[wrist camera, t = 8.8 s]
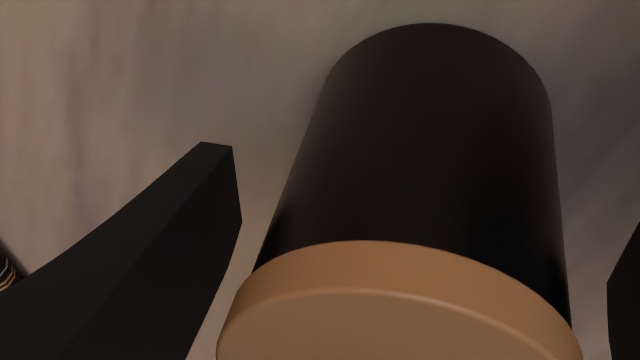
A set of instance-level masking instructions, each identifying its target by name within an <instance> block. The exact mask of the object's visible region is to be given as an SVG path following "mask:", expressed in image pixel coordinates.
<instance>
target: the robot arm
mask: <svg viewBox="0 0 640 360" xmlns="http://www.w3.org/2000/svg"><path fill="white" fill-rule="evenodd" d="M241 225H242V216H241V209H240V201H239V194H238V187H237V179H236V172H235V165H234V157H233V150H232V146H228V145H221V144H214V143H207V142H200V143H199V144H197V145H196V146H195V147H194V148H193V149H191V150H190V151H189V152H188V153H187V154H185V155H184V156H183V157H182V158H181V159H179V160H178V161H177V162H176V163H175V164H174V165H173V166H171V167H170V168H169V169H168V170H167V171H166V172H164V173H163V174H162V175H161V176H160V177H159V178H157V179H156V180H155V181H154V182H153V183H152V184H150V185H149V186H148V187H147V188H146V189H145V190H143V191H142V192H141V193H140V194H138V195H137V196H136V197H135V198H134V199H132V200H131V201H130V202H129V203H127V204H126V205H125V206H124V207H123V208H121V209H120V210H119V211H118V212H117V213H115V214H114V215H113V216H112V217H110V218H109V219H108V220H106V221H105V222H104V223H102V224H101V225H100V226H98V227H97V228H96V229H94V230H93V231H92V232H90V233H89V234H88V235H86V236H85V237H84V238H82V239H81V240H80V241H78V242H77V243H76V244H74V245H73V246H72V247H70V248H69V249H68V250H66V251H65V252H63V253H62V254H60V255H59V256H57V257H56V258H55V259H53V260H52V261H50V262H49V263H47V264H46V265H44V266H43V267H41V268H39V269H38V270H36V271H35V272H33V273H32V274H30V275H28V276H27V277H25V278H24V279H22V280H20V281H19V282H17V283H16V284H14V285H12V286H11V287H9V288H7V289H6V290H4V291H2V292H1V293H0V360H185V359H186V357H187V355H188V353H189V351H190V349H191V346H192V344H193V342H194V340H195V338H196V336H197V334H198V331H199V329H200V327H201V325H202V323H203V321H204V319H205V317H206V314H207V312H208V310H209V308H210V306H211V304H212V302H213V299H214V297H215V295H216V293H217V291H218V289H219V286H220V284H221V282H222V280H223V278H224V275H225V273H226V271H227V269H228V266H229V263H230V260H231V257H232V254H233V251H234V247H235V244H236V241H237V238H238V234H239V231H240V228H241ZM607 314H608V335H609V343H610V349H611V355H612V360H640V221H639V223H638V225H637V227H636V229H635V231H634V233H633V234H632V236H631V238H630V240H629V242H628V244H627V246H626V248H625V249H624V251H623V253H622V255H621V257H620V259H619V261H618V263H617V264H616V266H615V268H614V270H613V272H612V274H611V276H610V278H609V279H608V281H607Z"/></svg>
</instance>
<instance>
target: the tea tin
mask: <svg viewBox="0 0 640 360" xmlns="http://www.w3.org/2000/svg"><path fill="white" fill-rule="evenodd" d="M216 360H583V354H582V351H581V349H580V346H579V343H578V340H577V338H576V337H575V335H574V333H573V332H572V324H571V313H570V303H569V292H568V282H567V271H566V261H565V250H564V240H563V229H562V219H561V208H560V198H559V187H558V177H557V166H556V156H555V145H554V135H553V124H552V114H551V105H550V102H549V98H548V95H547V92H546V90H545V88H544V86H543V83H542V81H541V80H540V78H539V77H538V75H537V74H536V72H535V71H534V69H533V68H532V67H531V66H530V65H529V64H528V63H527V62H526V61H525V60H524V58H523V57H521V56H520V55H519V54H518V53H516V52H515V51H514V50H513V49H511V48H510V47H509V46H507V45H505V44H504V43H502V42H500V41H499V40H497V39H495V38H493V37H491V36H489V35H486V34H484V33H482V32H479V31H476V30H473V29H469V28H466V27H462V26H456V25H450V24H438V23H423V24H411V25H406V26H400V27H395V28H392V29H389V30H386V31H383V32H380V33H378V34H376V35H374V36H372V37H370V38H367V39H365V40H364V41H362V42H361V43H359V44H358V45H356V46H355V47H353V48H352V49H351V50H349V51H348V52H347V53H346V54H345V55H344V56H343V57H342V58H341V59H340V60H339V61H338V62H337V63H336V65H335V66H334V67H333V69H332V70H331V72H330V73H329V75H328V77H327V78H326V81H325V83H324V85H323V88H322V90H321V93H320V96H319V98H318V101H317V103H316V106H315V109H314V111H313V114H312V116H311V119H310V122H309V124H308V127H307V129H306V132H305V135H304V137H303V140H302V142H301V145H300V148H299V150H298V153H297V155H296V158H295V161H294V163H293V166H292V169H291V171H290V174H289V176H288V179H287V182H286V184H285V187H284V189H283V192H282V195H281V197H280V200H279V202H278V205H277V208H276V210H275V213H274V215H273V218H272V221H271V223H270V226H269V229H268V231H267V234H266V236H265V239H264V242H263V244H262V247H261V249H260V252H259V255H258V257H257V260H256V262H255V265H254V268H253V270H252V273H251V275H250V276H249V277H248V278H247V279H246V280H245V281H244V283H243V284H242V285H241V287H240V288H239V289H238V291H237V293H236V296H235V298H234V301H233V303H232V305H231V308H230V311H229V313H228V316H227V318H226V321H225V323H224V326H223V328H222V331H221V333H220V336H219V338H218V341H217V347H216Z"/></svg>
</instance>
